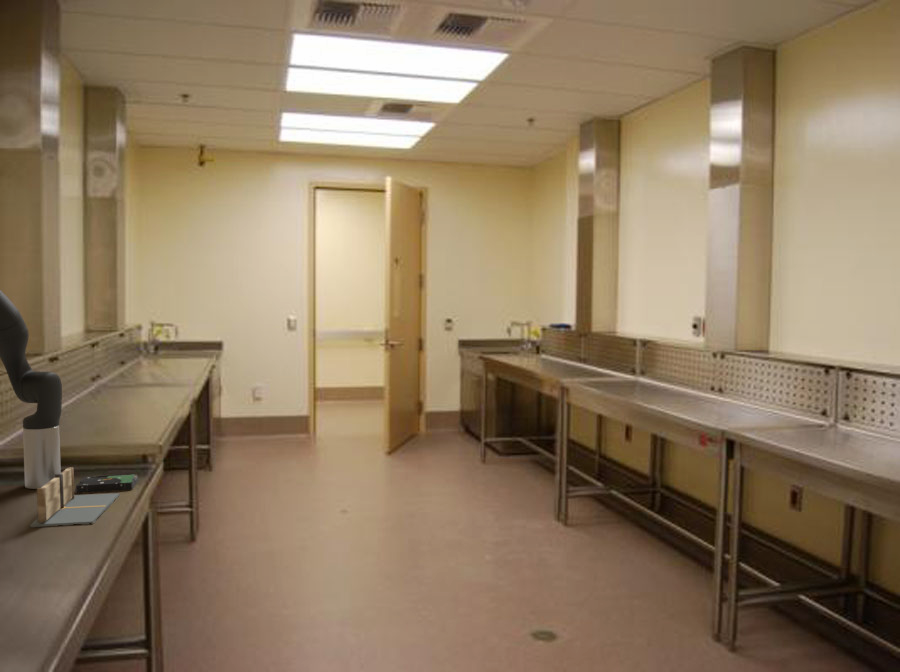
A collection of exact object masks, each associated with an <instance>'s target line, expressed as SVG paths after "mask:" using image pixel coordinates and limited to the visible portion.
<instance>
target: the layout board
mask: <svg viewBox="0 0 900 672" xmlns="http://www.w3.org/2000/svg"><path fill="white" fill-rule="evenodd" d="M119 497H120V493H119V492H118V493H115V492H114V493H96V494H95V493H93V494H74V499H72V500H71V499H70V500H69V501H68V502H67V503H66V504H65V505H64V508H62V509H59V510H58V511H57V512H56V513H55V514H53V515H52V516H51V517H50V518H49V519H48V520H47V521H45V522H38V518H36V519H35V520H34V521H33V522H32V523H30V525H29V526H30V528H40V527H41V528H42V527H43V528H44V527H57V526H58V525H63V526H74V525H73V524H82V525H90V524H89V523H93V524H94V523H96V521H97V520H98V519H99V518H100V517H101V516H102V515H103V514H104V513H105V512H106V511H107V510H108V509H109V507H110V506H111V505H112V504H113V503H114V502H115V501H116V500H117V499H118V498H119ZM115 499H116V500H115ZM114 500H115V501H114ZM104 511H105V512H104ZM103 512H104V513H103ZM102 513H103V514H102ZM101 514H102V515H101ZM100 515H101V516H100ZM99 516H100V517H99ZM98 517H99V518H98ZM97 518H98V519H97ZM96 519H97V520H96ZM58 527H59V526H58Z"/></svg>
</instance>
